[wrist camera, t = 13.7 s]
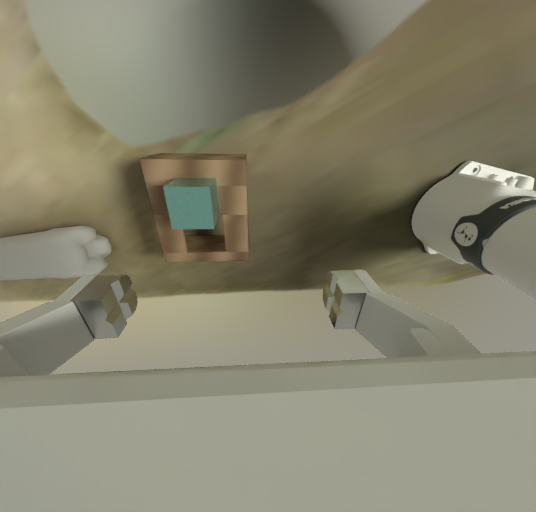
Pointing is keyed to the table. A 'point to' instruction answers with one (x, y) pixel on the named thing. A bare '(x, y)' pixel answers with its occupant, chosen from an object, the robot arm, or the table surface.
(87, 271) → the bottle
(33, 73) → the table surface
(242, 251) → the tan hollow wooden block
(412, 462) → the robot arm
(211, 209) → the teal stemmed block
